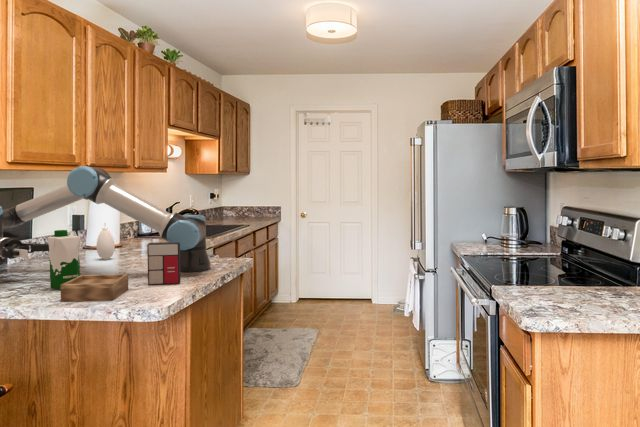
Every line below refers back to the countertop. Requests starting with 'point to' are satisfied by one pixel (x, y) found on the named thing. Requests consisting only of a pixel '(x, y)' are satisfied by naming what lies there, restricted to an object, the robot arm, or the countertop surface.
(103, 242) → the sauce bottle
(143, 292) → the countertop surface
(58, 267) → the soya milk
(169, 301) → the countertop surface
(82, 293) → the wooden tray
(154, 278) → the beige and red box
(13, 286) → the countertop surface
